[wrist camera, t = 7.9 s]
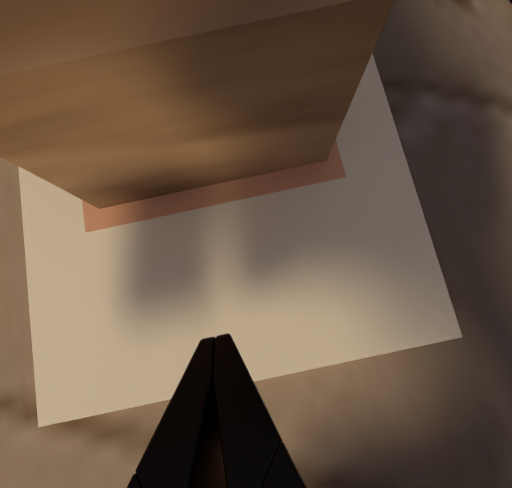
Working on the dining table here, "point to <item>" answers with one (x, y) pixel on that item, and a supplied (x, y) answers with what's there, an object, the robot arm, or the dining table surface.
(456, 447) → the dining table surface
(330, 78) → the t block
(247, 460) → the robot arm
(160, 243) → the mat
